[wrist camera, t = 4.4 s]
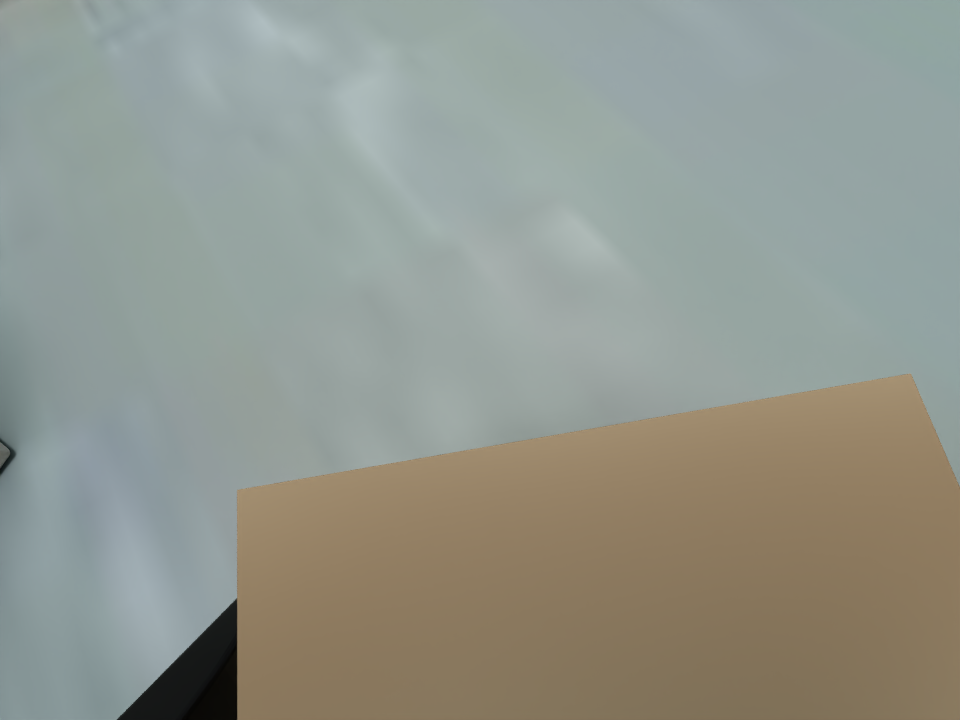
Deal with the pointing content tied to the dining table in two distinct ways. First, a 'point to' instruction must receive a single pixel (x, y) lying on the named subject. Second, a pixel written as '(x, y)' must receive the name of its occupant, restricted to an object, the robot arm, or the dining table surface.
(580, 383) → the dining table surface
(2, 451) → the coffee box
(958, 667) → the maple block
